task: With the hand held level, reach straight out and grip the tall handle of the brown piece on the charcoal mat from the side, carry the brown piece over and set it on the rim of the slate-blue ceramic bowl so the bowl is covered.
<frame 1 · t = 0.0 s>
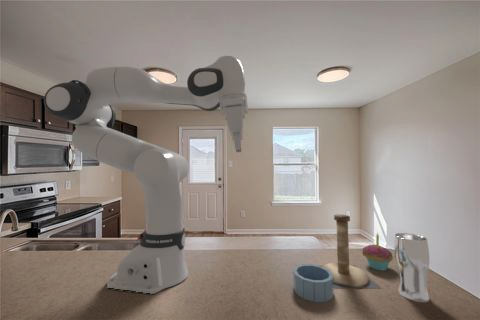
hand: (238, 150, 67), 39 cm above the counter, tool pointing down, fingers open, 8 cm apart
brown piece: (343, 275, 64), resting on mat
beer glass: (413, 296, 54), on the counter
bowl: (313, 291, 56), on the counter
cupcake: (377, 268, 70), on the counter
mat: (343, 276, 64), on the counter
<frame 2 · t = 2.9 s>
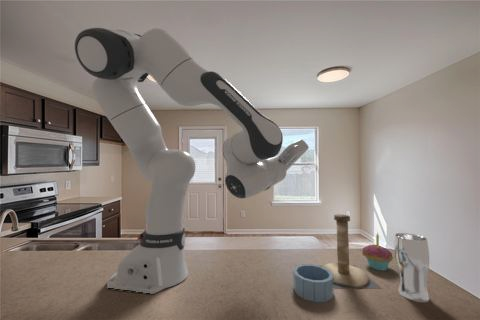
hand: (295, 158, 74), 37 cm above the counter, tool pointing upward, fingers open, 8 cm apart
nothing on the counter moved.
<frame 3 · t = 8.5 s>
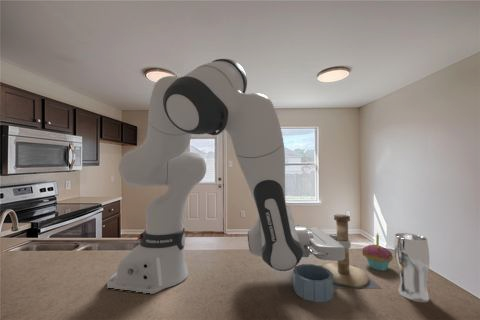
hand: (345, 241, 65), 11 cm above the counter, tool horizontal, fingers closed on brown piece, 3 cm apart
brown piece: (343, 275, 64), resting on mat, touching gripper
everything else where it was.
when the fingers open (16 cm above the counter, at t = 12.8 s): brown piece stays where it is, resting on bowl.
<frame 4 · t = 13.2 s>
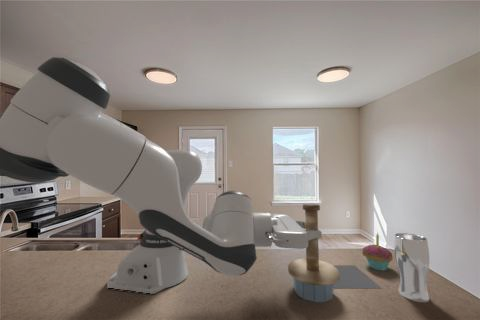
hand: (314, 229, 57), 16 cm above the counter, tool horizontal, fingers open, 7 cm apart
brown piece: (312, 272, 56), point 5 cm above the counter, touching bowl
everything else where it was.
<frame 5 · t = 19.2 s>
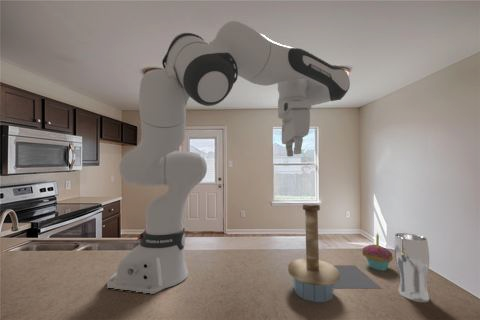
hand: (293, 155, 64), 37 cm above the counter, tool pointing down, fingers open, 8 cm apart
nothing on the counter moved.
at the end: brown piece 0.0 cm off-centre on the bowl, point 5.0 cm above the bowl's base; brown piece tilted 0°; the gripper is holding nothing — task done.
